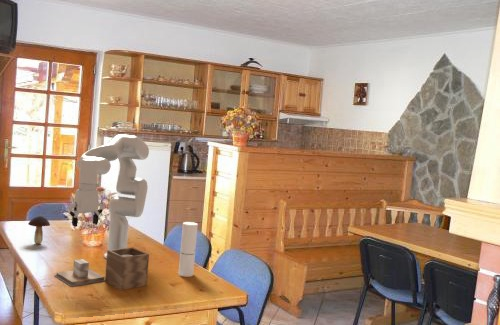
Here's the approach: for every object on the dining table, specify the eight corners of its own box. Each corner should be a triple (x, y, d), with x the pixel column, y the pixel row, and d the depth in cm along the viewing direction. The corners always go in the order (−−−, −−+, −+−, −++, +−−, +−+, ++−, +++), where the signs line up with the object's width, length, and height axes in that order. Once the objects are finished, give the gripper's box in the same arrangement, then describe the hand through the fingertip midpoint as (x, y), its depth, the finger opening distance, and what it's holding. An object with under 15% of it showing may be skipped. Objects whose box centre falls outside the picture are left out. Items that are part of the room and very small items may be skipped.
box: (130, 277, 236) (132, 247, 234) (146, 285, 226) (149, 254, 225) (105, 281, 226) (107, 250, 225) (120, 290, 217) (123, 257, 216)
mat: (87, 271, 238) (87, 270, 238) (105, 280, 227) (105, 279, 227) (54, 276, 227) (54, 275, 227) (71, 286, 215) (71, 285, 215)
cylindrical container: (195, 273, 250) (200, 223, 248) (189, 277, 243) (193, 225, 241) (182, 271, 252) (186, 221, 251) (175, 274, 246) (180, 223, 244)
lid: (87, 270, 237) (88, 255, 237) (104, 279, 227) (105, 263, 226) (56, 275, 227) (57, 259, 226) (71, 284, 216) (73, 268, 216)
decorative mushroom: (46, 241, 284) (48, 214, 283) (50, 246, 274) (52, 218, 273) (25, 241, 278) (27, 214, 277) (28, 246, 269) (30, 218, 268)
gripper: (101, 184, 234) (98, 221, 236) (64, 186, 222) (62, 224, 223) (109, 187, 229) (107, 225, 230) (73, 189, 216) (70, 228, 218)
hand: (85, 225), depth 227 cm, fingers open, 9 cm apart
